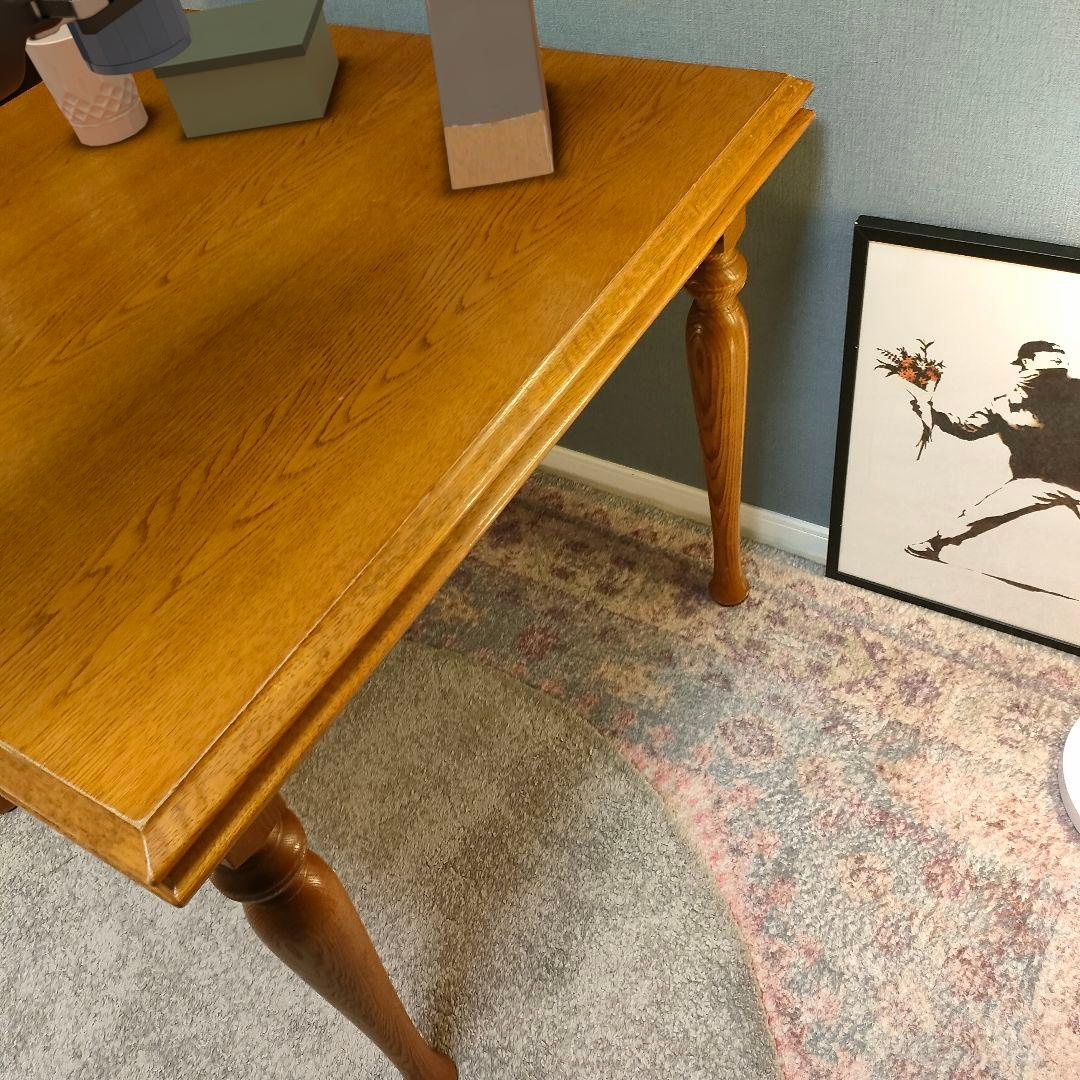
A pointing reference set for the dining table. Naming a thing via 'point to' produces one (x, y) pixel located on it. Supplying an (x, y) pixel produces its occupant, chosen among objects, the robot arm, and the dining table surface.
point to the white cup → (87, 91)
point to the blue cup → (136, 39)
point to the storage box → (252, 67)
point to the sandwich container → (490, 90)
